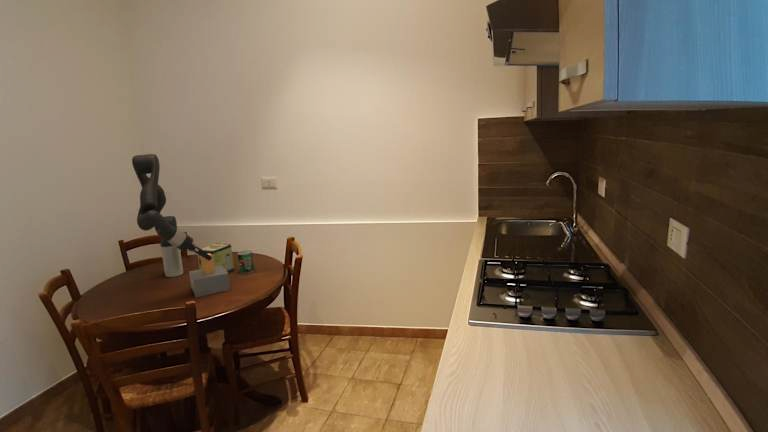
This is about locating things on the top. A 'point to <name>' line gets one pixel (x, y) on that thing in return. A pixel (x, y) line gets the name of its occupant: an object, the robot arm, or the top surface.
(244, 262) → the canned tomato
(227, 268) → the protein box
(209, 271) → the orange block
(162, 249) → the robot arm
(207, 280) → the storage box
